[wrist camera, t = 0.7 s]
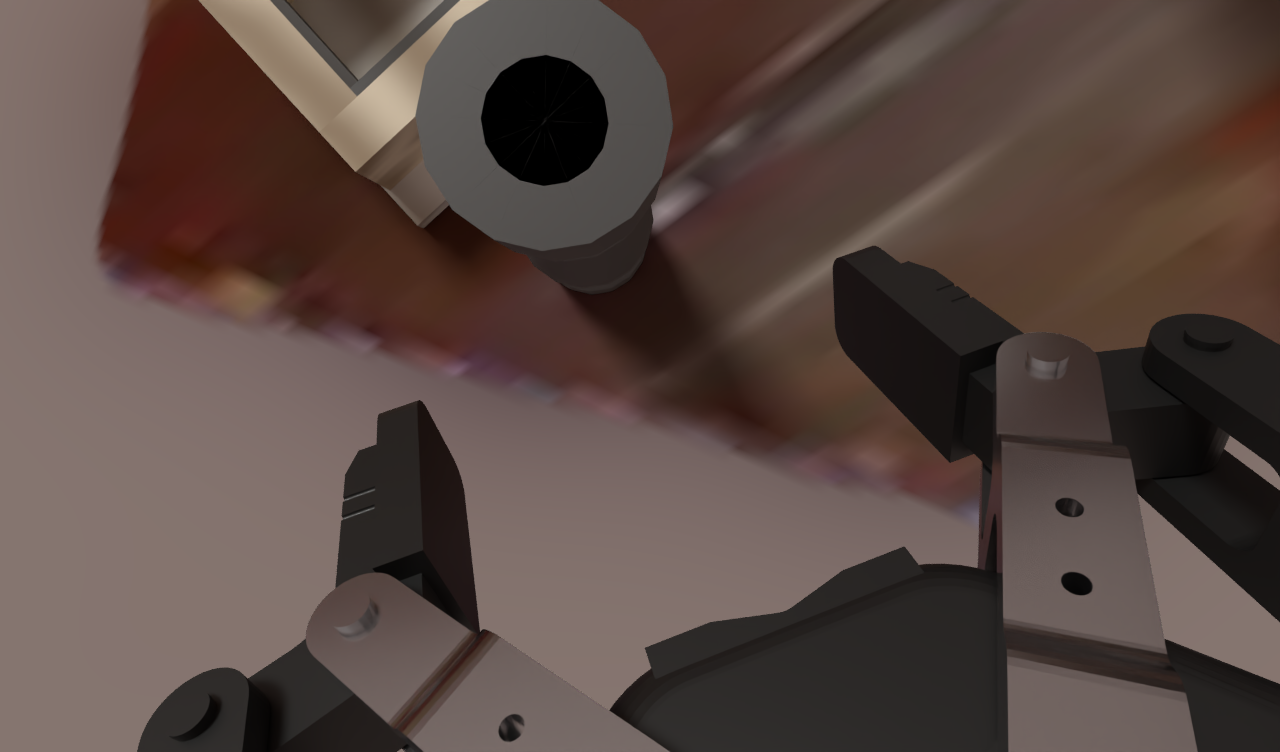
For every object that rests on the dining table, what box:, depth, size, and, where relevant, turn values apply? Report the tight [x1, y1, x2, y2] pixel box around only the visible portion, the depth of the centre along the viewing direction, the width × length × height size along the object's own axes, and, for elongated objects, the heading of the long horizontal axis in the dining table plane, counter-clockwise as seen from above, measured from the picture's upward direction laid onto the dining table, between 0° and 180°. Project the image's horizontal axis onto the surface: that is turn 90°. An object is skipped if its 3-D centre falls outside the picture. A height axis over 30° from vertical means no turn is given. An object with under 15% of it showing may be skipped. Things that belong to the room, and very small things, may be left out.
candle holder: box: [415, 0, 673, 295], centre depth 28 cm, size 6×6×25 cm
